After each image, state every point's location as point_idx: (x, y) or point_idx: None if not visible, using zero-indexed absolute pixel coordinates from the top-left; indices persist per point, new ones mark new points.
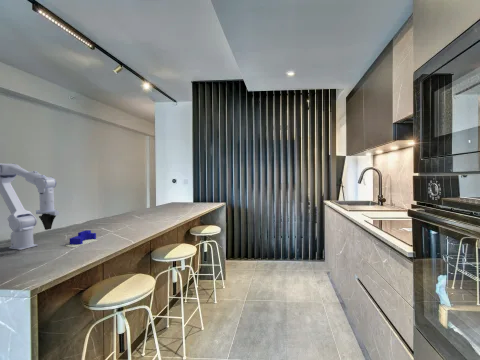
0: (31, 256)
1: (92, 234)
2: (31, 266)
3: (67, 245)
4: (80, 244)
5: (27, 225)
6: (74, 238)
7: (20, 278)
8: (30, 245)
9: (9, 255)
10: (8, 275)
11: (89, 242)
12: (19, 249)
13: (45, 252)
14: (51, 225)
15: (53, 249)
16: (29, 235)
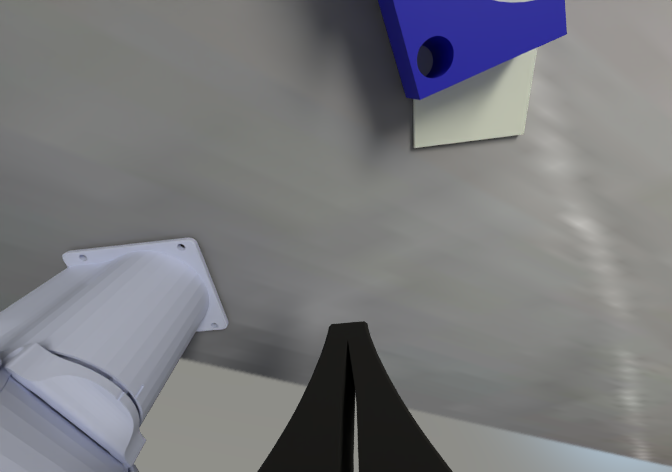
0: (432, 341)
1: None
2: (588, 389)
3: (426, 132)
4: None
5: (71, 448)
6: (480, 69)
7: (664, 438)
8: (199, 283)
9: (300, 372)
10: (589, 441)
11: None
12: (224, 327)
13: (430, 282)
14: (376, 357)
15: (410, 231)
16: (160, 343)
